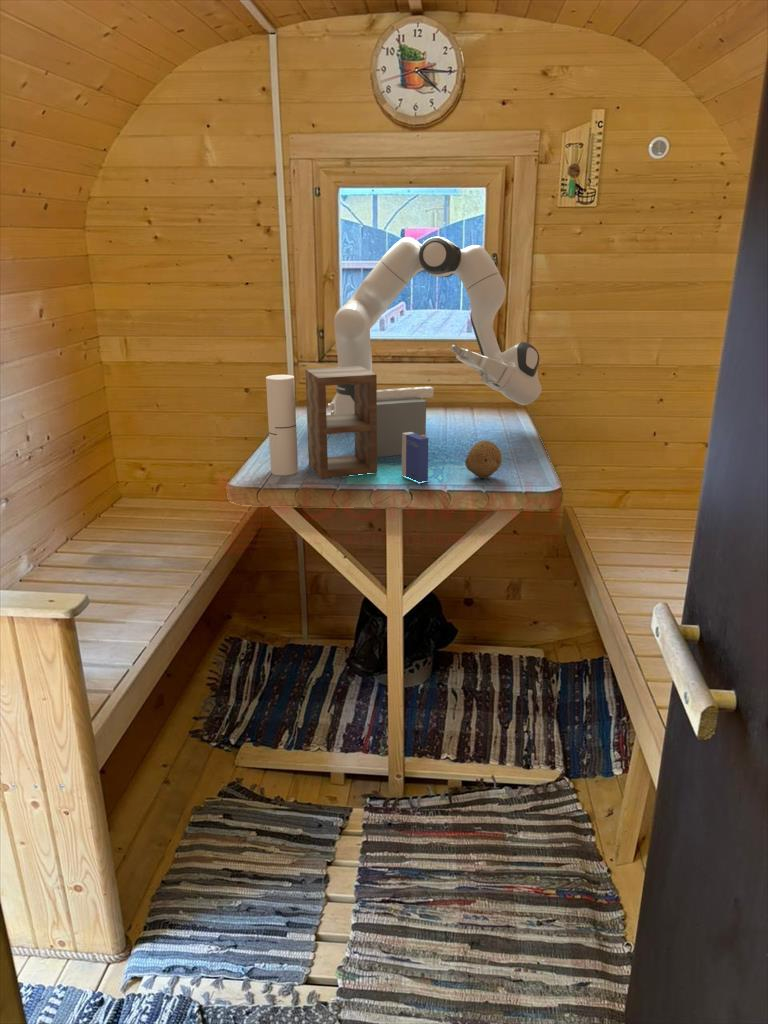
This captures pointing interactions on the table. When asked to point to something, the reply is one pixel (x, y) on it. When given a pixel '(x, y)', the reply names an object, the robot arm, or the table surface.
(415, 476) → the walkman
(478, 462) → the natural sponge
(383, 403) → the block
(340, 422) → the walnut shelf
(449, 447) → the table surface
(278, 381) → the cylindrical container
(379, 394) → the tan bar
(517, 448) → the table surface
